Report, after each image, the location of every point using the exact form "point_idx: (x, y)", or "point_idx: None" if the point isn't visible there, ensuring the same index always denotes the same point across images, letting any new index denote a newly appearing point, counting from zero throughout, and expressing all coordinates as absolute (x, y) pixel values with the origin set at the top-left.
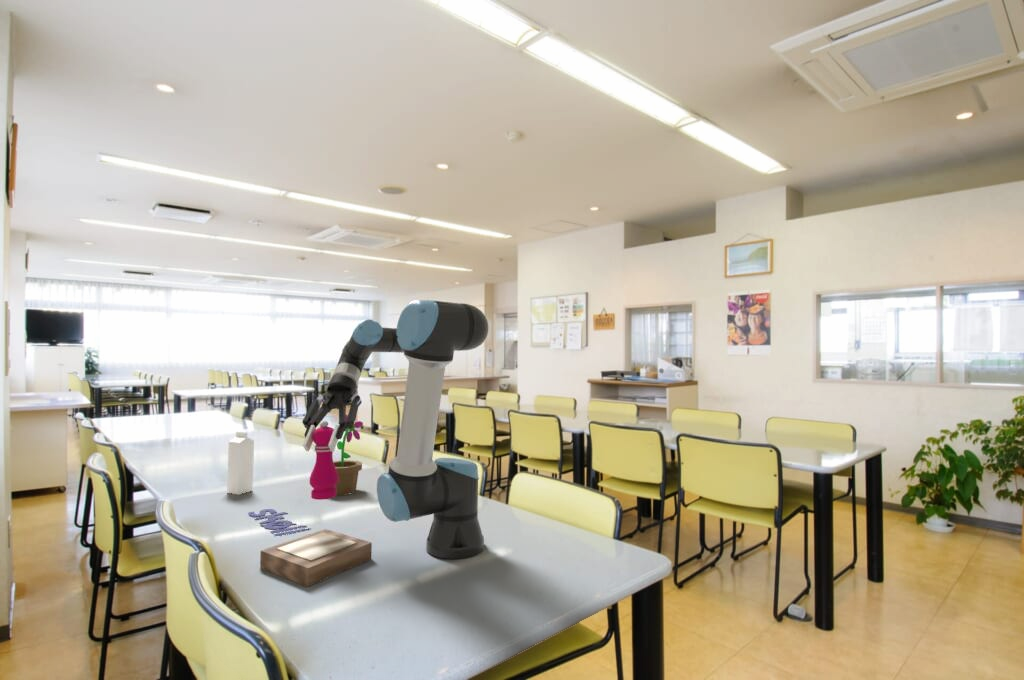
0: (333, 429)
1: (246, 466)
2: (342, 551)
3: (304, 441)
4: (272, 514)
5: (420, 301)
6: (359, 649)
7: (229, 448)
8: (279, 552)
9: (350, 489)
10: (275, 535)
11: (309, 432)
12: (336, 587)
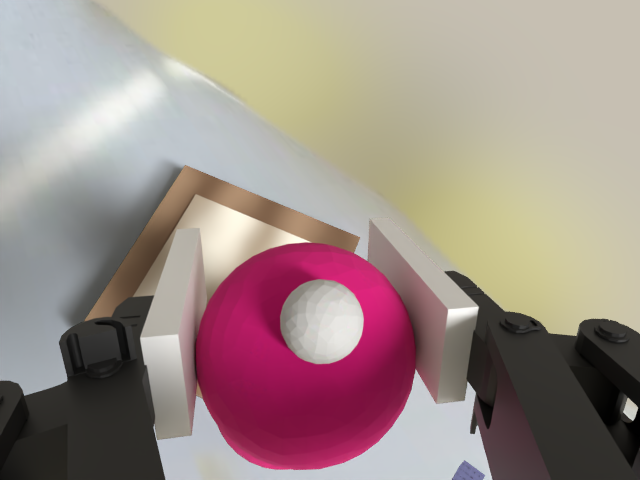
0: (220, 361)
1: None
2: (140, 262)
3: (398, 227)
4: None
5: None
6: (14, 30)
7: None
8: (305, 233)
9: None
10: (474, 469)
11: (421, 263)
12: (126, 191)
